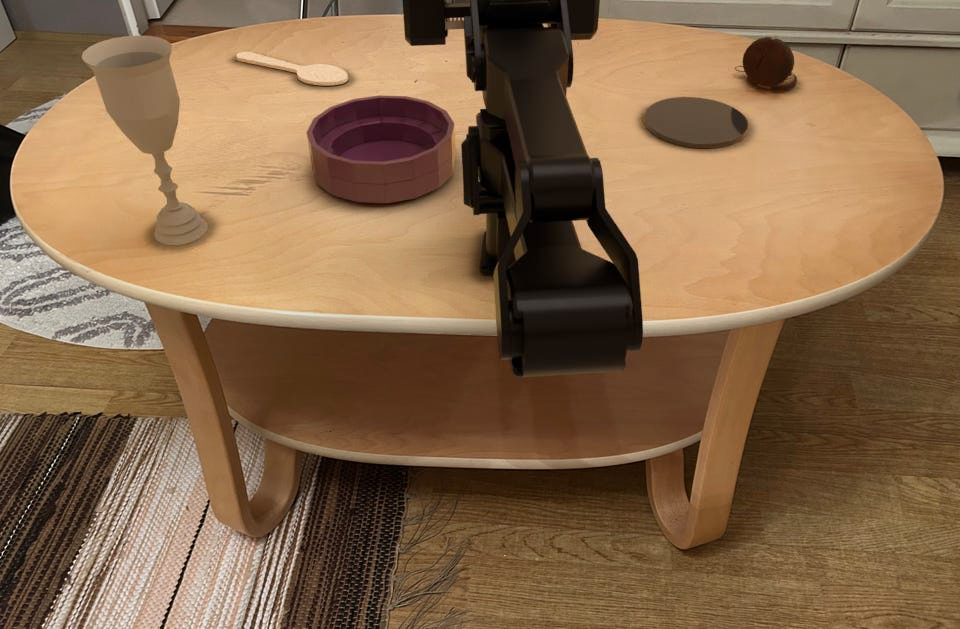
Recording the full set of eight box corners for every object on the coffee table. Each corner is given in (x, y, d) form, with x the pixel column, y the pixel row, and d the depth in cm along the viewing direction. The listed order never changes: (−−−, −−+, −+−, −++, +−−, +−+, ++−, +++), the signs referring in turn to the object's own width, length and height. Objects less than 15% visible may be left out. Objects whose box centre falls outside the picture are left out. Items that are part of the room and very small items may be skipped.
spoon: (251, 49, 112) (250, 45, 111) (357, 74, 105) (357, 70, 105) (225, 63, 108) (224, 59, 108) (333, 89, 101) (333, 85, 101)
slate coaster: (755, 150, 89) (756, 145, 89) (648, 146, 90) (648, 141, 90) (737, 102, 98) (738, 98, 98) (640, 99, 99) (640, 95, 99)
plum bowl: (446, 210, 80) (444, 166, 77) (299, 204, 81) (291, 161, 78) (460, 138, 92) (460, 97, 89) (331, 133, 93) (325, 93, 90)
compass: (801, 79, 104) (816, 23, 99) (782, 102, 99) (797, 44, 94) (742, 65, 107) (754, 10, 102) (720, 86, 102) (731, 30, 97)
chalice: (128, 244, 76) (63, 63, 64) (165, 206, 81) (112, 32, 69) (197, 255, 75) (144, 72, 63) (231, 216, 80) (187, 39, 68)
